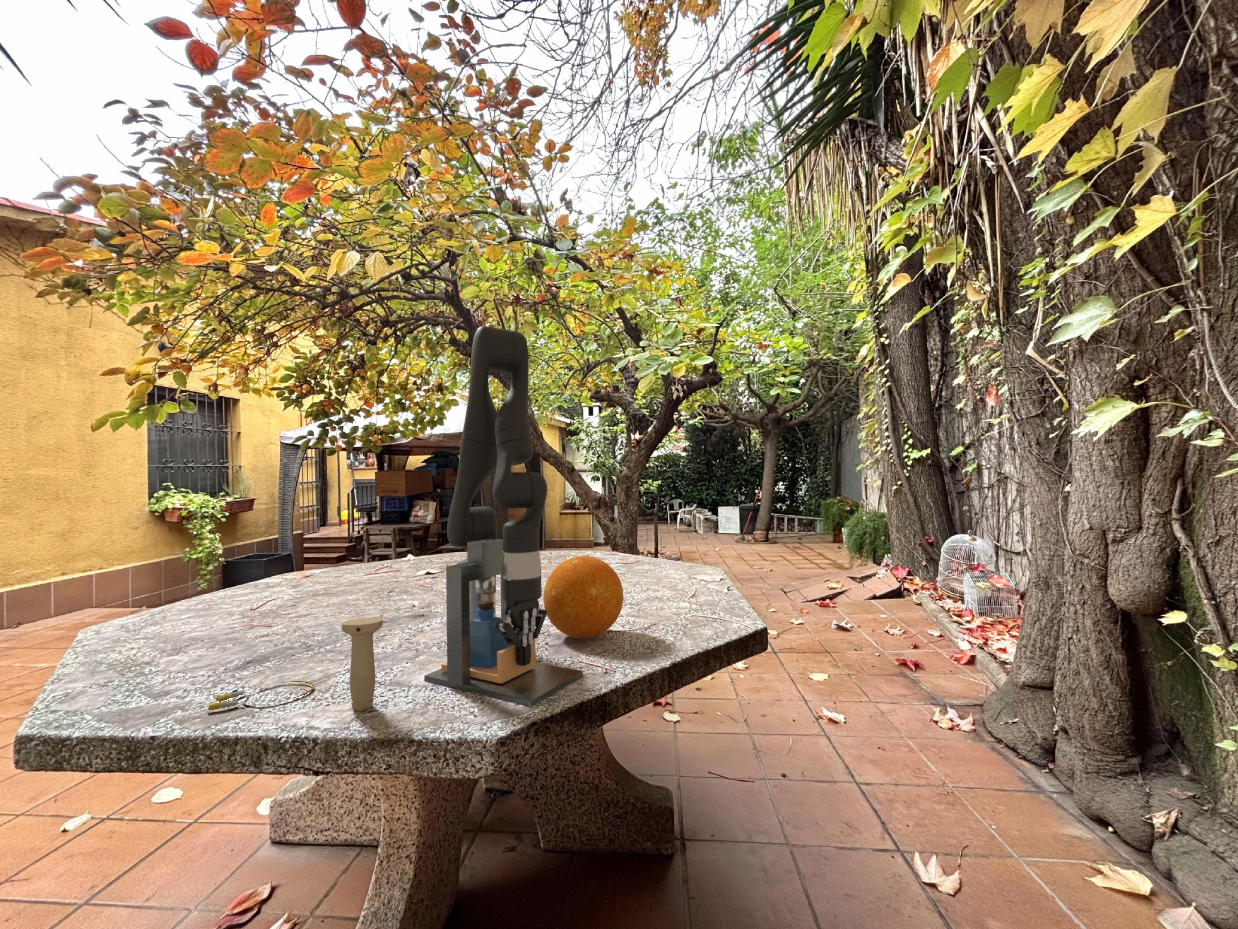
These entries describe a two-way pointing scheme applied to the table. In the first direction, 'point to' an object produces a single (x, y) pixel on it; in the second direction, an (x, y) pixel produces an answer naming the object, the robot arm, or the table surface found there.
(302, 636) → the table surface
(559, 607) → the decorative sphere
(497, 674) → the press bed carriage
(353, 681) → the handle
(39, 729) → the table surface
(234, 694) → the jump rope
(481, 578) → the press frame
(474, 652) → the perfume bottle
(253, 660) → the table surface
